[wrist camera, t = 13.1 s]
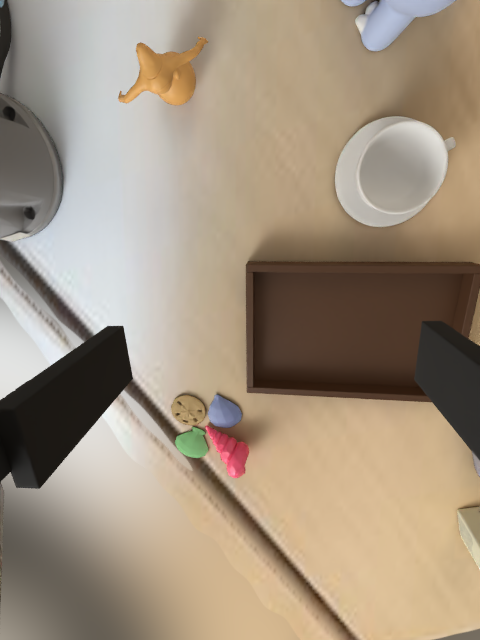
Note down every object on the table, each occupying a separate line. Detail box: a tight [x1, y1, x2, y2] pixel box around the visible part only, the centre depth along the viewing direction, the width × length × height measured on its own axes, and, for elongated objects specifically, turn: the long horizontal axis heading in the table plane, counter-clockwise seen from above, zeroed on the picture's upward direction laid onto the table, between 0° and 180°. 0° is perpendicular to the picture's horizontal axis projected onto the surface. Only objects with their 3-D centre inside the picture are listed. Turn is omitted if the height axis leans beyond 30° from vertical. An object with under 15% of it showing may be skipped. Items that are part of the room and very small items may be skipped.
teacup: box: [335, 116, 456, 227], centre depth 30 cm, size 10×10×5 cm
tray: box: [246, 262, 480, 402], centre depth 36 cm, size 16×24×2 cm, turn 91°
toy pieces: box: [171, 394, 249, 478], centre depth 42 cm, size 12×11×4 cm
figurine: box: [118, 37, 208, 105], centre depth 26 cm, size 8×6×12 cm
